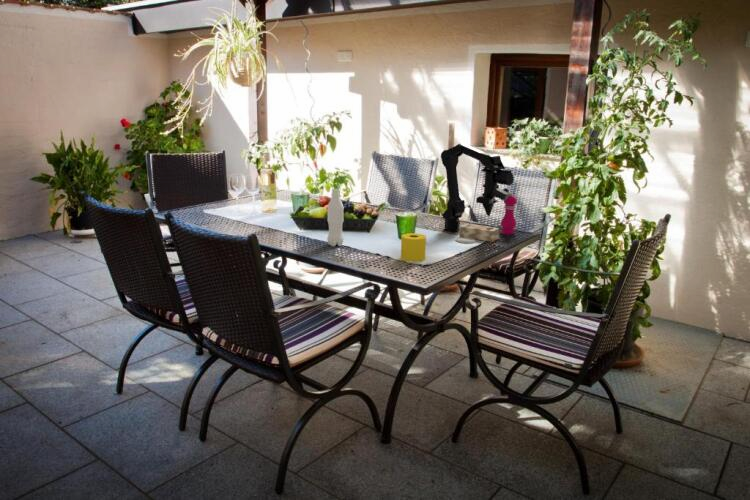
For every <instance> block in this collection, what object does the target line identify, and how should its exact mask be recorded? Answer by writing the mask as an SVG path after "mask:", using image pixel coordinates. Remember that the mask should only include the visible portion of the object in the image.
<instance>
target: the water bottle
mask: <svg viewBox="0 0 750 500" xmlns="http://www.w3.org/2000/svg"><path fill="white" fill-rule="evenodd" d="M330 198H331V199H330V200H329V202H328V204H327V219H326V220H327V223H328V235H327V239H326V240H327V244H328V245H329V246H331V247H336V245H337V247H341V246H342V245H343V243H344V240H345V239H344V238H345V237H344V235H343V223H344V221H345V220H344V210H345V207H344V205H343V202H342V200H341V197H340V189H339V188H332V190H331V197H330Z"/></svg>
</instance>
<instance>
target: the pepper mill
mask: <svg viewBox="0 0 750 500" xmlns="http://www.w3.org/2000/svg"><path fill="white" fill-rule="evenodd" d="M517 200H518V199H517V198H516V196H514V194H513V192H511V191H509V196H508V197H507V199H506V200H504V201H503V204H504V209H505V210H504V216H503V217H502V219H501V222H500V226H501V233H502V234H503V235H514V234H515V227H516V226H517V221H516V218H515V215H514V210H516V204H517Z"/></svg>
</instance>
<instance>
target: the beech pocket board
mask: <svg viewBox="0 0 750 500" xmlns="http://www.w3.org/2000/svg"><path fill="white" fill-rule="evenodd" d="M470 225H474V226H482V227H489V230H485V229H478V228H471V227H468V226H470ZM499 233H500V228H499V227H494V226H487V225H479V224H473V223H464V224H462V225H460V230H459V238H460V237H468V238H473V239H475V240H480V241H485V242H492V243H493V242H495V241H496V240H499V237H500V236H499Z"/></svg>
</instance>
